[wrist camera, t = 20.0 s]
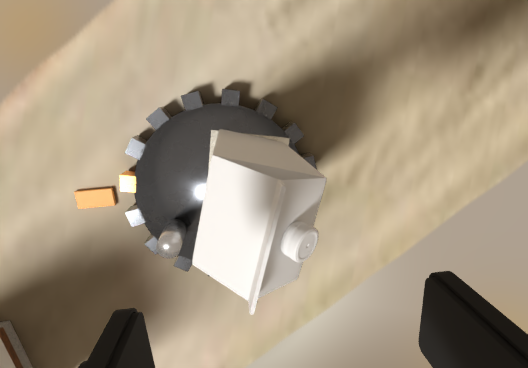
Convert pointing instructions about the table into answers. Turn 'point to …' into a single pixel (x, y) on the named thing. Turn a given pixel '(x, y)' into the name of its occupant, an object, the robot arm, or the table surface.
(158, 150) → the sprocket
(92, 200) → the block
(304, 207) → the milk carton
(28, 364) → the banded white pillar
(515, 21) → the table surface
